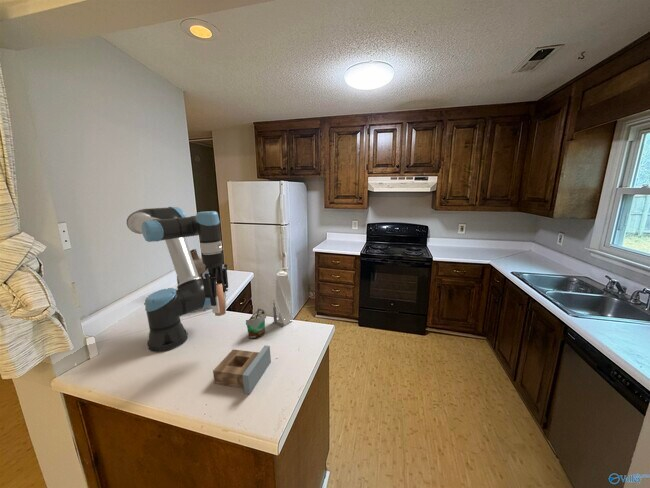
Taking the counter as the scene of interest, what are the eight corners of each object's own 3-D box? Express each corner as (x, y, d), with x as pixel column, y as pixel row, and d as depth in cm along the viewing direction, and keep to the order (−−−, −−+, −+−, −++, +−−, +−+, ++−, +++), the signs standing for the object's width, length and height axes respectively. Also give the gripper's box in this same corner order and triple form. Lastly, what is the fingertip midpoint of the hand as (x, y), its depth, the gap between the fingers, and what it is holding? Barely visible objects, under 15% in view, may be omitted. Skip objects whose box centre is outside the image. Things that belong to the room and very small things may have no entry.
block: (214, 383, 88) (212, 370, 87) (234, 361, 99) (232, 349, 98) (246, 388, 85) (245, 375, 84) (263, 364, 96) (262, 352, 95)
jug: (180, 289, 177) (174, 247, 171) (214, 284, 186) (209, 243, 180) (177, 303, 155) (170, 255, 149) (216, 296, 164) (210, 250, 158)
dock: (188, 387, 88) (185, 366, 86) (217, 357, 103) (215, 339, 102) (250, 397, 83) (248, 375, 81) (271, 364, 98) (269, 345, 96)
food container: (260, 342, 113) (258, 321, 111) (247, 341, 114) (245, 320, 112) (271, 327, 125) (270, 308, 123) (259, 326, 126) (258, 307, 124)
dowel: (212, 315, 101) (208, 286, 99) (219, 311, 105) (215, 283, 103) (221, 316, 101) (218, 287, 98) (227, 311, 104) (224, 283, 102)
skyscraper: (285, 316, 136) (282, 265, 130) (296, 321, 131) (293, 268, 125) (273, 323, 130) (268, 269, 124) (283, 328, 125) (280, 272, 119)
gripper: (206, 258, 89) (214, 320, 94) (233, 247, 105) (239, 301, 110) (187, 258, 91) (196, 319, 95) (217, 247, 107) (224, 300, 112)
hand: (219, 309), depth 103 cm, fingers closed on dowel, 4 cm apart
